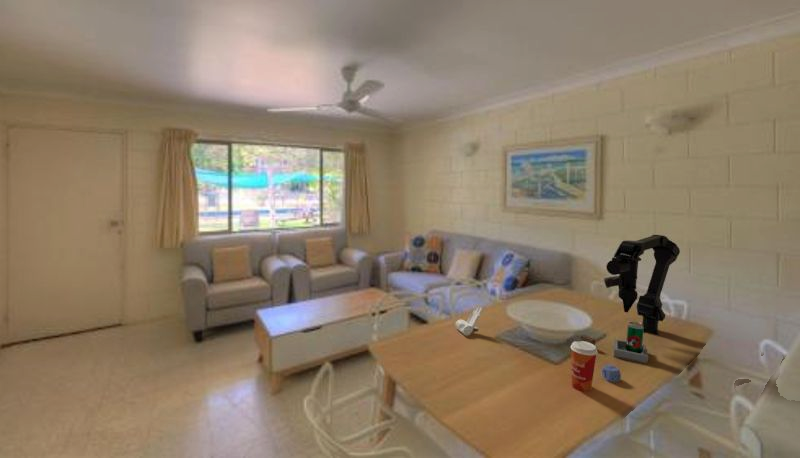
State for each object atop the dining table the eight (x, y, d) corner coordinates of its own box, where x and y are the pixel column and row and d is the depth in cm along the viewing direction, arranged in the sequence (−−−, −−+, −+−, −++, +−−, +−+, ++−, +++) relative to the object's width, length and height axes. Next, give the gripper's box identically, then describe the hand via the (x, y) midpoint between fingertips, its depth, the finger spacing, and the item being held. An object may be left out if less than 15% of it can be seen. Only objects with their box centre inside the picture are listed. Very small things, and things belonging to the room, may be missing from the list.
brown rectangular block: (583, 343, 144) (584, 334, 144) (594, 349, 140) (595, 339, 139) (580, 344, 143) (580, 335, 143) (591, 350, 139) (591, 340, 138)
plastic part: (455, 329, 159) (455, 304, 158) (475, 326, 162) (475, 301, 161) (463, 336, 152) (463, 310, 150) (483, 333, 155) (484, 307, 153)
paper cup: (563, 380, 118) (565, 340, 116) (585, 379, 119) (588, 339, 117) (576, 394, 110) (579, 351, 108) (600, 393, 111) (603, 350, 109)
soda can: (644, 357, 132) (647, 326, 131) (632, 357, 132) (634, 326, 130) (634, 350, 137) (637, 320, 136) (622, 351, 137) (624, 321, 135)
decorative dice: (601, 376, 121) (602, 365, 120) (612, 375, 121) (613, 364, 120) (608, 382, 117) (609, 371, 116) (620, 382, 117) (621, 370, 116)
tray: (614, 345, 142) (614, 338, 142) (645, 352, 137) (646, 344, 137) (613, 356, 134) (614, 349, 133) (647, 364, 128) (648, 356, 128)
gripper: (606, 264, 157) (604, 299, 159) (605, 274, 141) (602, 312, 143) (636, 268, 151) (633, 303, 154) (639, 278, 136) (635, 317, 138)
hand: (625, 308), depth 147 cm, fingers open, 9 cm apart
